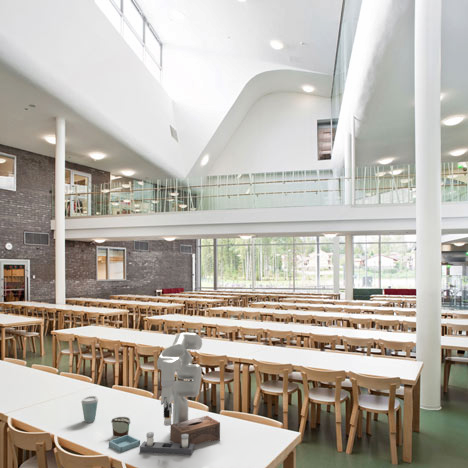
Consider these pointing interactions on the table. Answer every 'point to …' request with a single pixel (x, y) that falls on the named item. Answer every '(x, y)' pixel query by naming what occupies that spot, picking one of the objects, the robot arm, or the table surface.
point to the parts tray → (124, 443)
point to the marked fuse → (168, 419)
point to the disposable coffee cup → (89, 408)
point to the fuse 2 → (184, 440)
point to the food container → (120, 426)
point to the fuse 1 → (150, 439)
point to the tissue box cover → (196, 430)
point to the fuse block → (167, 448)
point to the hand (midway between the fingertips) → (167, 415)
